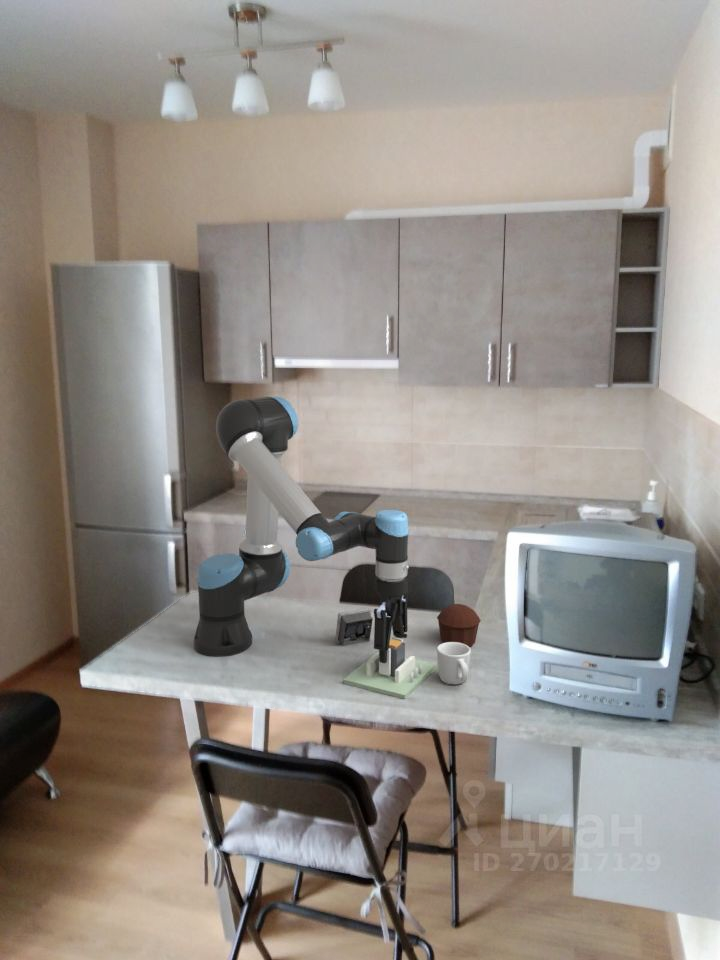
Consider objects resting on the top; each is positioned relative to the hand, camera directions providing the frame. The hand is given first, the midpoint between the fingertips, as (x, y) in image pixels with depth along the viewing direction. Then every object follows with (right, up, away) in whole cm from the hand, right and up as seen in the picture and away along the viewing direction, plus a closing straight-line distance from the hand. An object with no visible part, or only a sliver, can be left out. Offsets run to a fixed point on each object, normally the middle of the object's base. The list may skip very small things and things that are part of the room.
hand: (391, 668), depth 180 cm
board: (0, -2, 0) cm, 2 cm away
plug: (0, -1, 0) cm, 1 cm away
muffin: (+19, +2, +19) cm, 27 cm away
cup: (+15, -3, -3) cm, 16 cm away
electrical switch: (-9, +2, +20) cm, 22 cm away
